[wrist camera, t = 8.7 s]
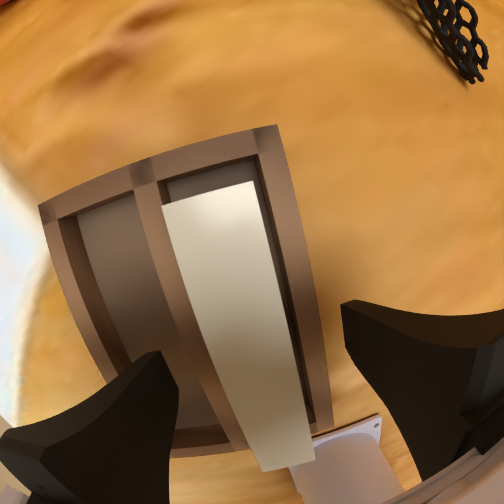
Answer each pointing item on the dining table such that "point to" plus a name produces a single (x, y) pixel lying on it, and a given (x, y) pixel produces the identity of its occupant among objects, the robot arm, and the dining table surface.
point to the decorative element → (457, 36)
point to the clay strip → (242, 318)
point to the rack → (170, 279)
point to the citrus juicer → (3, 1)
